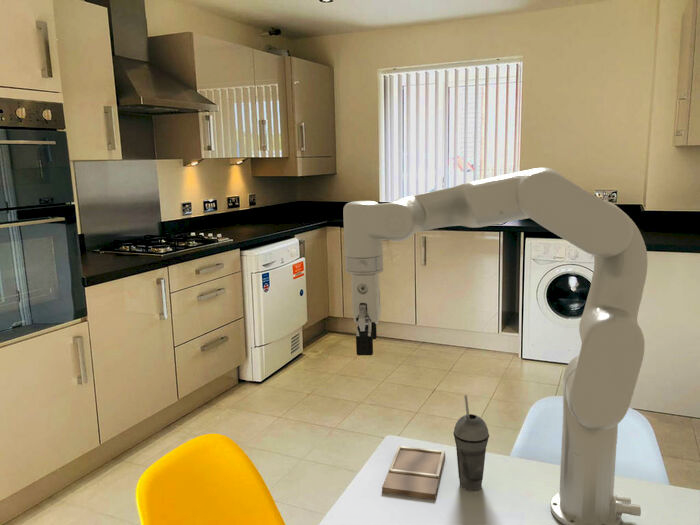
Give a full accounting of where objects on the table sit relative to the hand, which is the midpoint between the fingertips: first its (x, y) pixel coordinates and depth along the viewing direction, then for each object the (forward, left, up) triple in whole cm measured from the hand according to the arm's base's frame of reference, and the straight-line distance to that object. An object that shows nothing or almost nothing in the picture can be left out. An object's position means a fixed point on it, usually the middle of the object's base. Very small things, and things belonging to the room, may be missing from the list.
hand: (367, 346), depth 119 cm
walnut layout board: (-9, -6, -31) cm, 32 cm away
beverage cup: (-21, -5, -31) cm, 37 cm away
